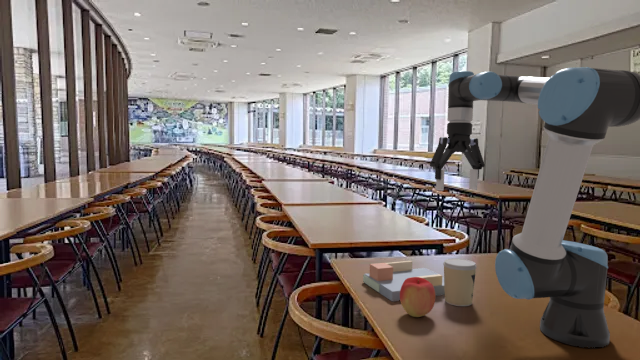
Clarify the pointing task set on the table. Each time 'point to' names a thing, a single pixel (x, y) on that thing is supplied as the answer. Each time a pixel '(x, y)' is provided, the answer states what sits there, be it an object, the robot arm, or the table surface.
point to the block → (381, 271)
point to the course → (400, 275)
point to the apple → (417, 296)
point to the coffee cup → (459, 281)
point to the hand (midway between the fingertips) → (456, 190)
